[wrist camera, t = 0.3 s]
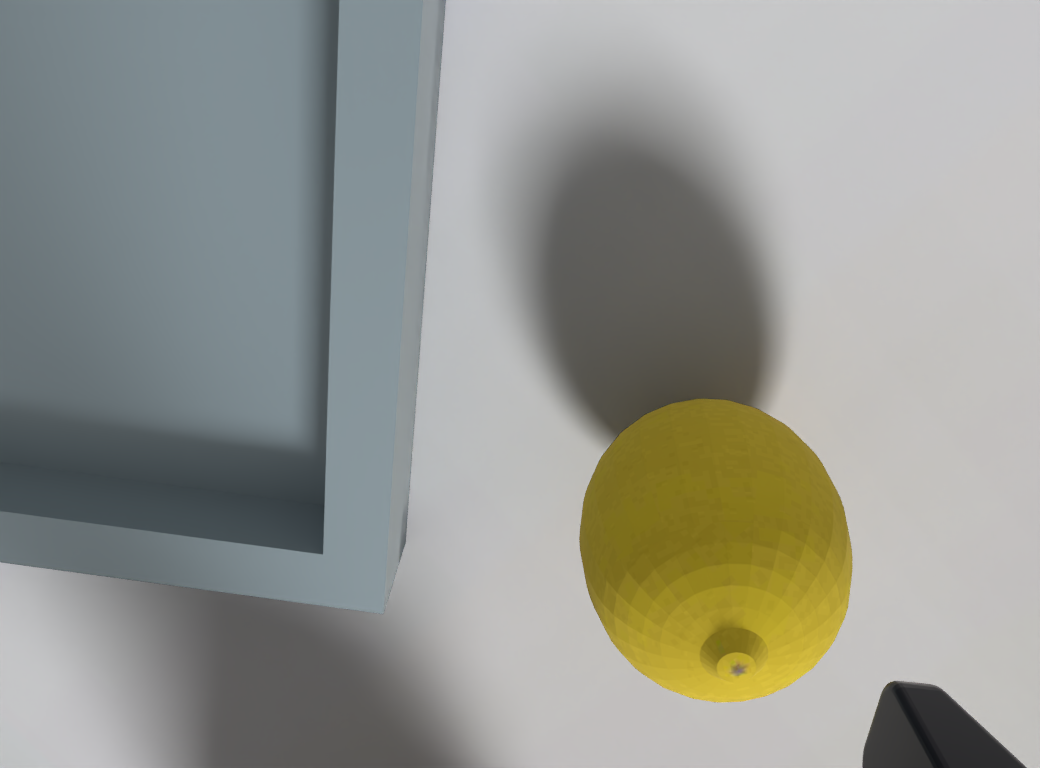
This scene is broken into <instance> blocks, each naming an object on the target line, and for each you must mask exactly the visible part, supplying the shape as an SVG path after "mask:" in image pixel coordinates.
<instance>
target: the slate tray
mask: <svg viewBox="0 0 1040 768" xmlns="http://www.w3.org/2000/svg"><path fill="white" fill-rule="evenodd" d="M445 3H446V0H0V562H2V563H10V564H17V565H24V566H32V567H39V568H47V569H54V570H61V571H69V572H76V573H84V574H91V575H98V576H106V577H113V578H121V579H128V580H135V581H143V582H150V583H157V584H165V585H172V586H180V587H187V588H194V589H202V590H209V591H217V592H224V593H231V594H239V595H246V596H254V597H261V598H268V599H276V600H283V601H290V602H298V603H305V604H313V605H320V606H327V607H335V608H342V609H350V610H357V611H364V612H372V613H379V614H384V611H385V607H386V604H387V601H388V598H389V594H390V591H391V588H392V585H393V581H394V578H395V575H396V572H397V568H398V565H399V562H400V558H401V555H402V552H403V549H404V545H405V542H406V528H407V515H408V502H409V488H410V475H411V461H412V448H413V434H414V421H415V407H416V394H417V380H418V367H419V353H420V340H421V326H422V313H423V299H424V286H425V272H426V259H427V246H428V232H429V219H430V205H431V192H432V178H433V165H434V151H435V138H436V124H437V111H438V97H439V84H440V70H441V57H442V43H443V30H444V16H445Z"/></svg>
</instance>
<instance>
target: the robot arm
mask: <svg viewBox="0 0 1040 768" xmlns="http://www.w3.org/2000/svg"><path fill="white" fill-rule="evenodd" d="M862 765H863V768H1027V767H1025V766H1024V765H1023V764H1022V763H1021V762H1020V761H1019V760H1018V759H1017V758H1016V757H1015V756H1014V755H1013V754H1011V753H1010V752H1009V751H1008V750H1007V749H1006V748H1005V747H1004V746H1003V745H1002V744H1001V743H1000V742H999V741H998V740H996V739H995V738H994V737H993V736H992V735H991V734H990V733H989V732H988V731H987V730H986V729H985V728H984V727H982V726H981V725H980V724H979V723H978V722H977V721H976V720H975V719H974V718H973V717H972V716H971V715H970V714H968V713H967V712H966V711H965V710H964V709H963V708H962V707H961V706H960V705H959V704H958V703H957V702H956V701H954V700H953V699H952V698H951V697H950V696H949V695H948V694H947V693H946V692H945V691H943V690H942V689H941V688H939V687H937V686H935V685H931V684H924V683H914V682H904V681H893V682H890V683H888V684H887V685H886V686H885V688H884V689H883V691H882V694H881V696H880V700H879V703H878V706H877V709H876V712H875V715H874V718H873V721H872V724H871V727H870V731H869V734H868V737H867V740H866V743H865V747H864V751H863V764H862Z"/></svg>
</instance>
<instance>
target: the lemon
mask: <svg viewBox="0 0 1040 768" xmlns="http://www.w3.org/2000/svg"><path fill="white" fill-rule="evenodd" d="M579 540H580V551H581V557H582V562H583V568H584V573H585V579H586V584H587V588H588V592H589V595H590V598H591V600H592V603H593V605H594V608H595V610H596V612H597V614H598V616H599V618H600V620H601V622H602V624H603V626H604V628H605V630H606V632H607V633H608V635H609V637H610V639H611V641H612V642H613V644H614V645H615V646H616V647H617V649H618V650H619V651H620V652H621V653H622V654H623V655H624V656H625V658H626V659H627V660H628V661H629V662H630V663H631V664H632V665H633V666H634V667H635V668H636V669H637V670H638V671H640V672H641V673H642V674H643V675H645V676H647V677H648V678H650V679H651V680H653V681H654V682H656V683H657V684H659V685H660V686H662V687H664V688H666V689H669V690H671V691H674V692H677V693H679V694H682V695H685V696H687V697H690V698H693V699H699V700H706V701H712V702H741V701H746V700H751V699H755V698H760V697H764V696H767V695H769V694H772V693H774V692H776V691H778V690H781V689H783V688H785V687H787V686H789V685H790V684H792V683H793V682H795V681H796V680H797V679H799V678H800V677H801V676H803V675H804V674H805V673H807V672H808V671H809V670H811V669H812V668H813V667H814V666H815V665H816V664H817V662H818V661H819V660H820V659H821V658H822V657H823V655H824V654H825V653H826V652H827V651H828V649H829V648H830V646H831V645H832V643H833V642H834V640H835V638H836V636H837V633H838V631H839V629H840V627H841V625H842V622H843V620H844V618H845V615H846V612H847V608H848V602H849V594H850V585H851V576H852V549H851V543H850V537H849V532H848V527H847V522H846V517H845V512H844V507H843V505H842V502H841V499H840V496H839V494H838V492H837V490H836V488H835V486H834V485H833V483H832V481H831V479H830V477H829V475H828V474H827V472H826V470H825V468H824V466H823V464H822V463H821V461H820V460H819V458H818V457H817V455H816V454H815V453H814V452H813V451H812V450H811V449H810V448H809V447H808V446H807V445H806V444H805V443H804V442H803V441H802V440H801V439H800V438H799V437H798V436H797V435H796V434H795V433H794V432H793V431H792V430H791V429H790V428H789V427H787V426H786V425H785V424H783V423H782V422H780V421H778V420H776V419H775V418H773V417H771V416H769V415H768V414H766V413H764V412H762V411H761V410H759V409H756V408H754V407H750V406H747V405H743V404H740V403H736V402H733V401H729V400H720V399H693V400H688V401H682V402H677V403H672V404H669V405H666V406H664V407H662V408H659V409H657V410H654V411H652V412H650V413H647V414H645V415H644V416H642V417H641V418H640V419H638V420H637V421H636V422H634V423H633V424H632V425H630V426H629V427H628V428H626V429H625V430H624V431H623V432H621V433H620V434H619V436H618V437H617V438H616V439H615V441H614V442H613V443H612V444H611V445H610V447H609V448H608V449H607V450H606V452H605V453H604V454H603V455H602V457H601V459H600V460H599V463H598V465H597V467H596V469H595V472H594V474H593V476H592V478H591V480H590V483H589V485H588V488H587V490H586V493H585V497H584V502H583V510H582V518H581V526H580V539H579Z"/></svg>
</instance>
